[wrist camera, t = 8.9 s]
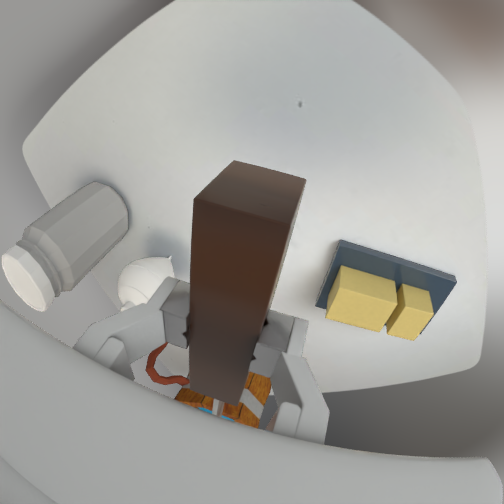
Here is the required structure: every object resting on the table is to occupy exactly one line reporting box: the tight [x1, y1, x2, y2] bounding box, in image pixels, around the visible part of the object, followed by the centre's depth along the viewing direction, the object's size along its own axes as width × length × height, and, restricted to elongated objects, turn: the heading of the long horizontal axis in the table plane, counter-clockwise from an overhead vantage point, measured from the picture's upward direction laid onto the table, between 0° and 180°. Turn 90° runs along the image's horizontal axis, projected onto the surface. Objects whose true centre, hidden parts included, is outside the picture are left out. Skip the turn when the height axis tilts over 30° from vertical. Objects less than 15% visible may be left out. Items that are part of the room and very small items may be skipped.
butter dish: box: [315, 240, 457, 334], centre depth 35 cm, size 10×16×1 cm, turn 82°
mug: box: [146, 342, 271, 429], centre depth 44 cm, size 20×14×15 cm
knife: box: [189, 160, 306, 417], centre depth 15 cm, size 21×2×3 cm, turn 171°
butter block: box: [325, 265, 397, 332], centre depth 34 cm, size 5×7×4 cm
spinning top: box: [118, 256, 174, 312], centre depth 38 cm, size 8×8×12 cm
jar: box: [2, 182, 128, 311], centre depth 34 cm, size 10×10×18 cm
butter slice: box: [386, 284, 434, 341], centre depth 33 cm, size 5×4×4 cm
